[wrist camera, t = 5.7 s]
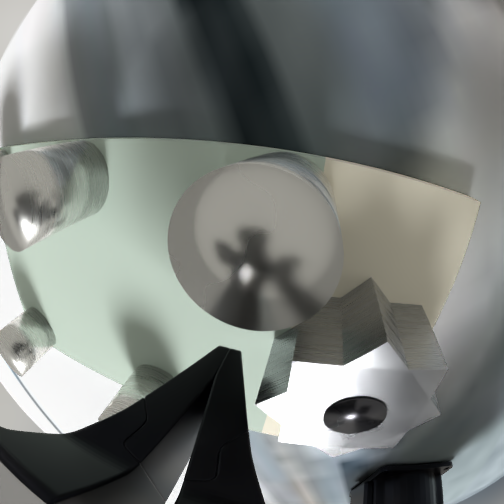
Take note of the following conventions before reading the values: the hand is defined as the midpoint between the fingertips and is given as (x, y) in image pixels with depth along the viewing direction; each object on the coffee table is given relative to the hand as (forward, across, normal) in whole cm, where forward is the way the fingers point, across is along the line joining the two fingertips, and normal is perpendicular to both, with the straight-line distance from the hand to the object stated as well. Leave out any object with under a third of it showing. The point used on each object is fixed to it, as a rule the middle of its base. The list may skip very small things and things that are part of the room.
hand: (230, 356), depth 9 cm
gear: (+1, -4, 0) cm, 4 cm away
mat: (+2, +4, 0) cm, 5 cm away
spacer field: (+1, +7, 0) cm, 7 cm away
